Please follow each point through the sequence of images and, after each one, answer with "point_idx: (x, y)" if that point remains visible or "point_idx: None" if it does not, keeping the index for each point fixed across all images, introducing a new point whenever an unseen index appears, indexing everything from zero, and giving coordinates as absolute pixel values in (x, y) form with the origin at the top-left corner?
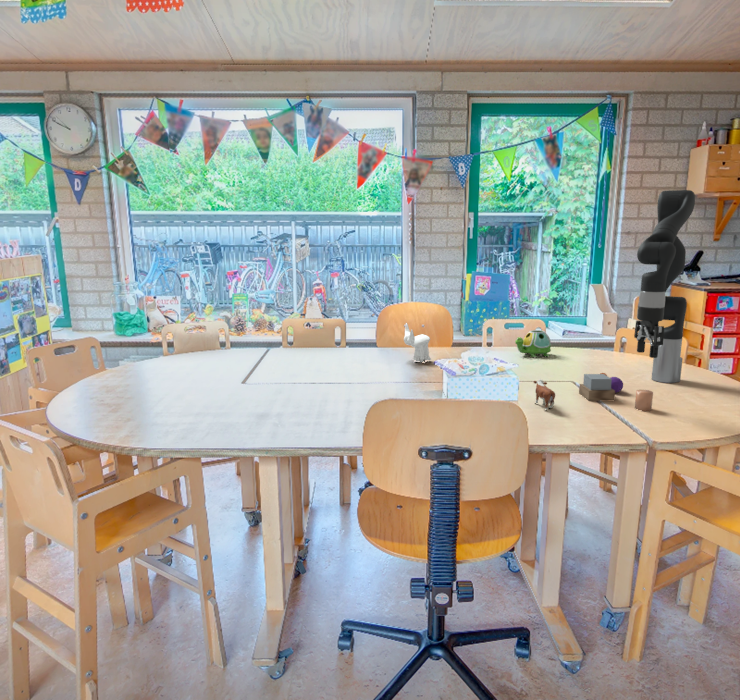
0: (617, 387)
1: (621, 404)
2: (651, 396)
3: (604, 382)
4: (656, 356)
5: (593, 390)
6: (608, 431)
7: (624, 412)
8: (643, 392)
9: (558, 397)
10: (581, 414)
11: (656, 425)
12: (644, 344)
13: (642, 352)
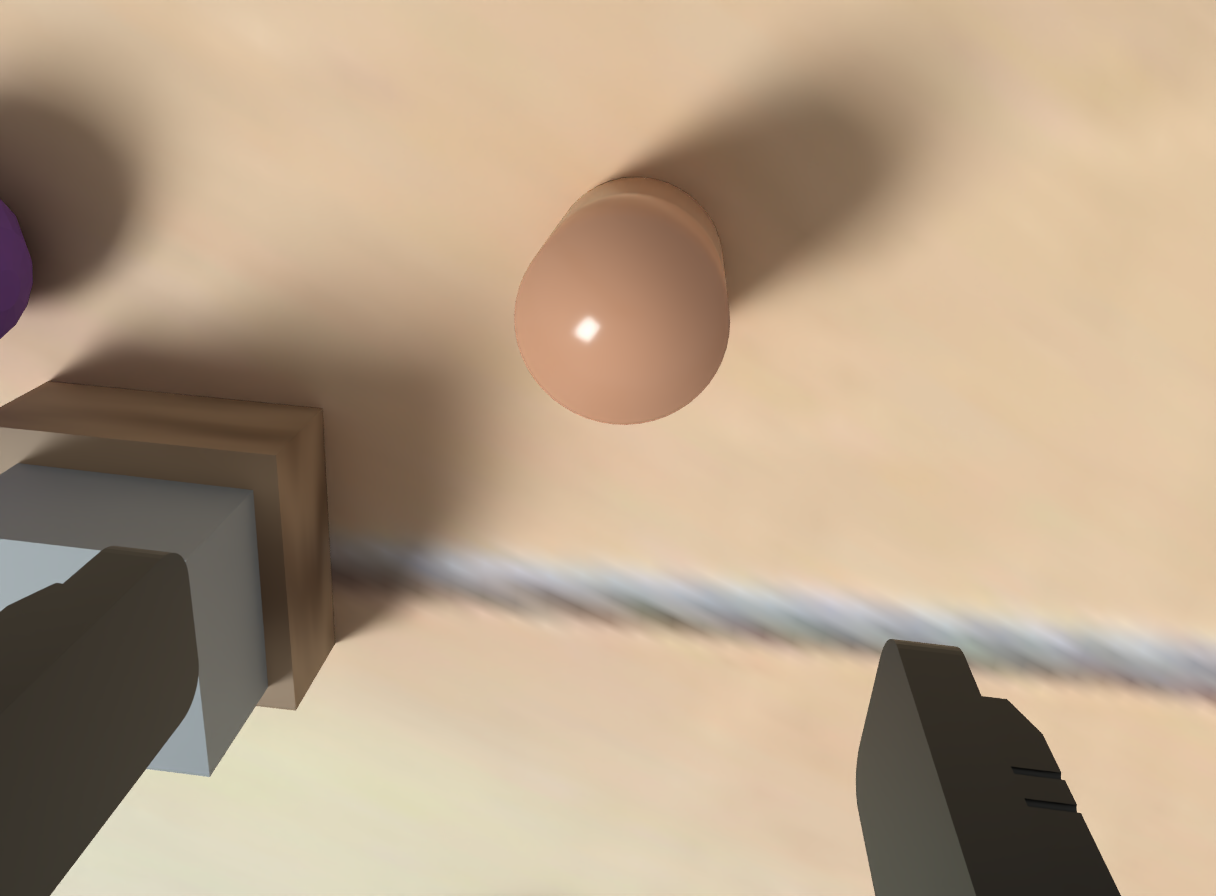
0: (15, 275)
1: (460, 405)
2: (719, 268)
3: (215, 613)
4: (959, 675)
5: (280, 667)
6: (1161, 867)
7: (724, 514)
8: (661, 365)
9: (236, 819)
10: (721, 857)
11: (1166, 438)
12: (25, 702)
13: (188, 582)
